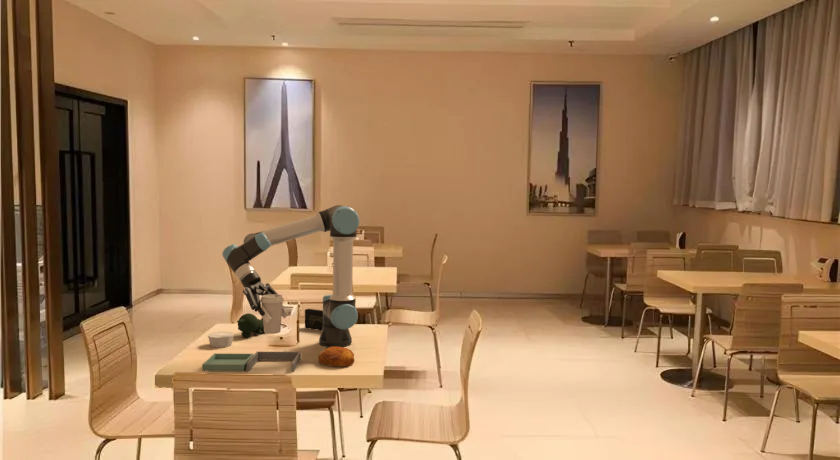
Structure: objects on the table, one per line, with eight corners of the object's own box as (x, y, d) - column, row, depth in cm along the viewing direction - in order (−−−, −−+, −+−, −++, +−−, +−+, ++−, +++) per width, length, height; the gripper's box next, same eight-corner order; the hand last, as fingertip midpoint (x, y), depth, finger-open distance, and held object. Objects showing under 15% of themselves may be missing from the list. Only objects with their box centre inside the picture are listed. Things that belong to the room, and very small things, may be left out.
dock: (300, 359, 289) (300, 351, 289) (293, 372, 271) (293, 363, 271) (256, 359, 289) (256, 351, 288) (246, 371, 271) (246, 363, 270)
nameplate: (304, 328, 347) (304, 309, 347) (307, 327, 349) (307, 308, 348) (338, 333, 337) (338, 313, 336) (340, 332, 339) (340, 312, 338)
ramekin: (209, 349, 304) (209, 338, 304) (206, 343, 315) (206, 332, 314) (235, 347, 309) (235, 335, 308) (231, 341, 319) (231, 330, 319)
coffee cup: (278, 335, 273) (278, 298, 271) (256, 334, 274) (256, 297, 273) (287, 330, 282) (287, 294, 281) (266, 328, 284) (266, 293, 283)
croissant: (341, 375, 275) (343, 356, 274) (311, 364, 283) (313, 346, 281) (362, 365, 288) (364, 347, 286) (333, 355, 295) (334, 337, 294)
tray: (253, 359, 289) (253, 353, 288) (244, 370, 272) (244, 364, 272) (214, 359, 288) (214, 353, 288) (202, 370, 272) (202, 364, 271)
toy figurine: (262, 332, 346) (228, 338, 323) (264, 294, 346) (230, 297, 322) (278, 334, 341) (244, 340, 318) (279, 295, 341) (246, 299, 318)
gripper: (261, 279, 294) (290, 319, 287) (224, 286, 274) (254, 329, 268) (271, 267, 291) (300, 308, 284) (233, 274, 271) (264, 318, 265)
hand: (278, 318), depth 276 cm, fingers closed on coffee cup, 9 cm apart
